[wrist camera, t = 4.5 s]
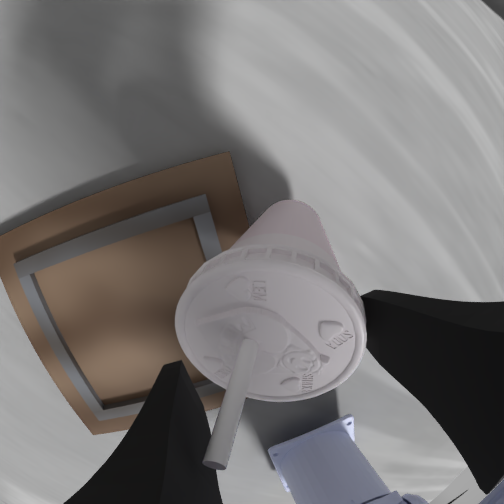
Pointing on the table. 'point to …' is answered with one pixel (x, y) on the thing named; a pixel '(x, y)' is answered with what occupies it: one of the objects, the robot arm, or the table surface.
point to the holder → (120, 284)
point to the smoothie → (271, 319)
